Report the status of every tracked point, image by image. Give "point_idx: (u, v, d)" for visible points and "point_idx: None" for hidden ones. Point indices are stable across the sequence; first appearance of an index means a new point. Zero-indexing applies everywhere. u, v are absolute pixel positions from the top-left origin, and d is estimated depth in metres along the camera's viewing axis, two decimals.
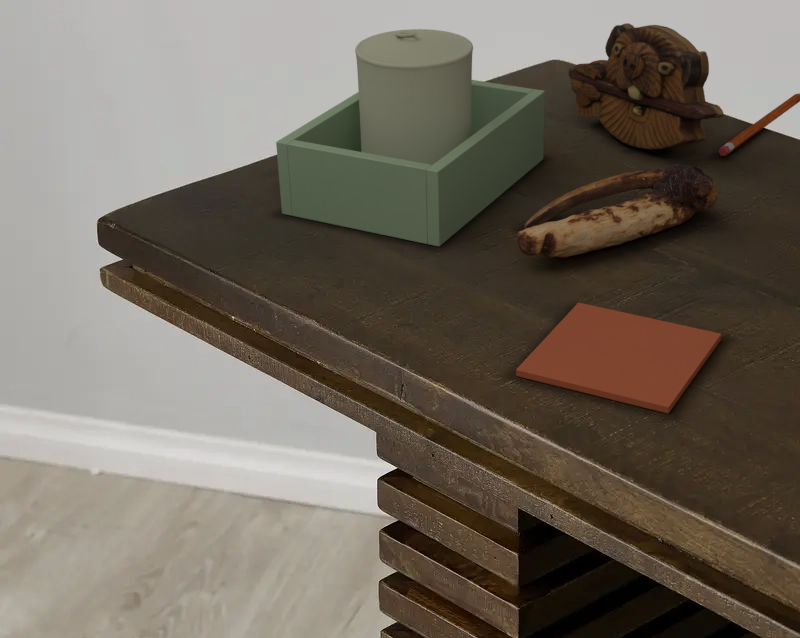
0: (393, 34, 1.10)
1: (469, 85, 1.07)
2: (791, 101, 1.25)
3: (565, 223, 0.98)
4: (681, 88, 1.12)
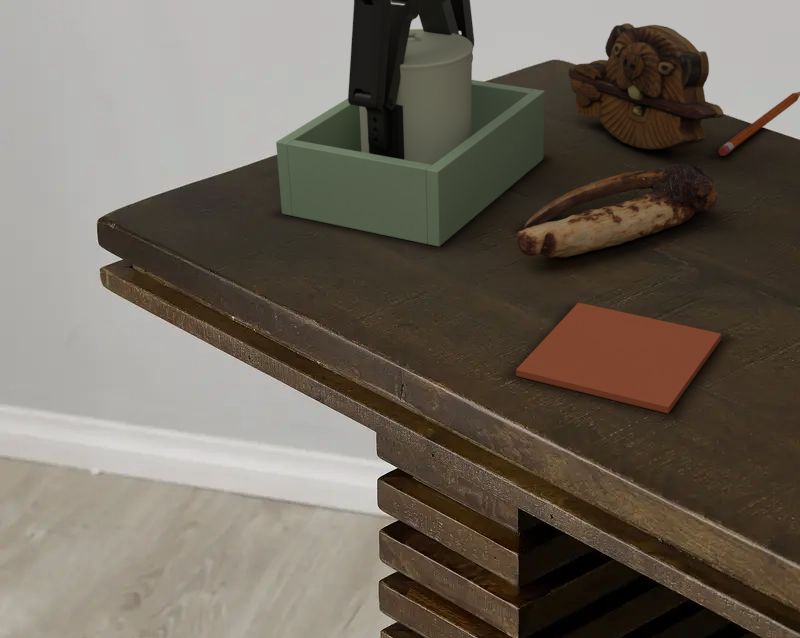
0: None
1: (469, 85, 1.07)
2: (789, 100, 1.25)
3: (565, 223, 0.98)
4: (681, 88, 1.12)
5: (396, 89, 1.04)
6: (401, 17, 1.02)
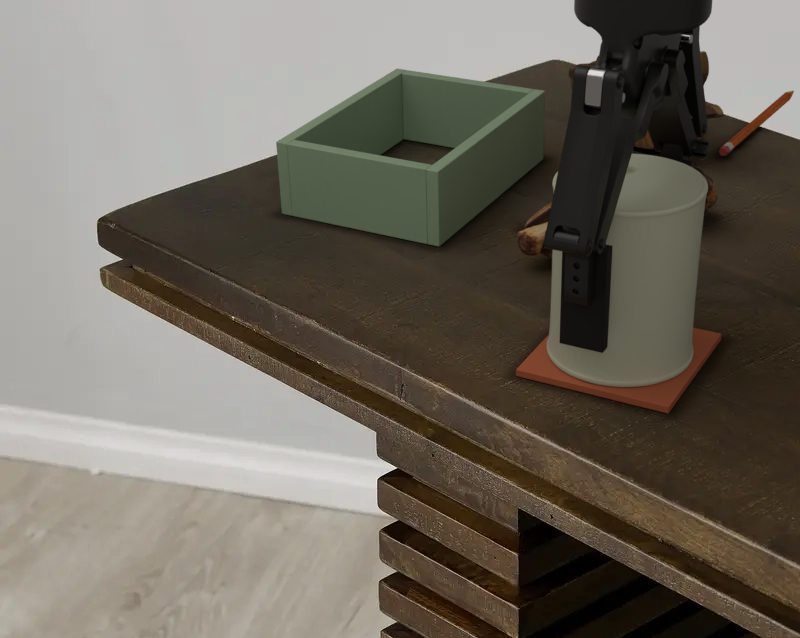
0: None
1: (701, 232, 0.82)
2: (782, 99, 1.26)
3: None
4: None
5: (608, 228, 0.76)
6: (625, 134, 0.76)
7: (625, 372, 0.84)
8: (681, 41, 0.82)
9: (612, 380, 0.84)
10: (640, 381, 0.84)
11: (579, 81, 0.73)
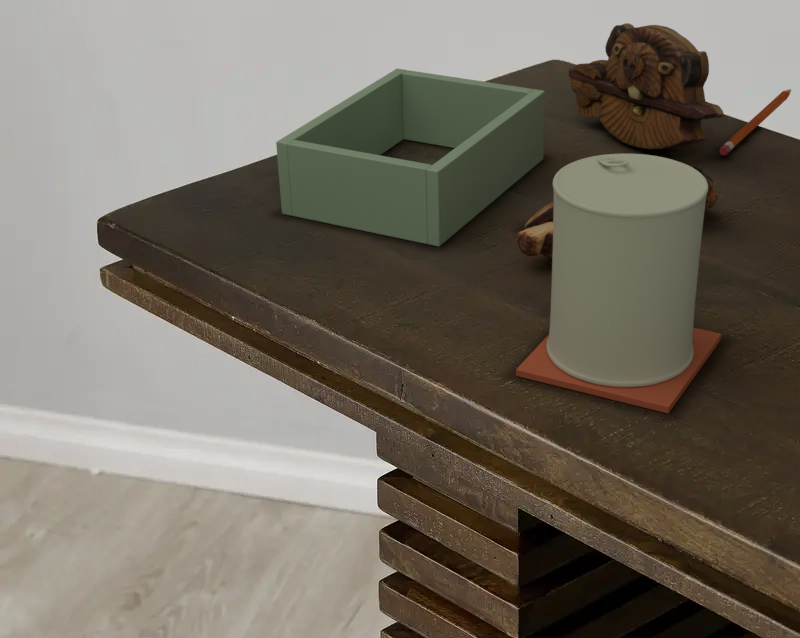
0: (595, 161, 0.85)
1: (701, 232, 0.82)
2: (780, 98, 1.26)
3: None
4: (681, 88, 1.12)
5: None
6: None
7: (625, 372, 0.84)
8: None
9: (612, 380, 0.84)
10: (640, 381, 0.84)
11: None
